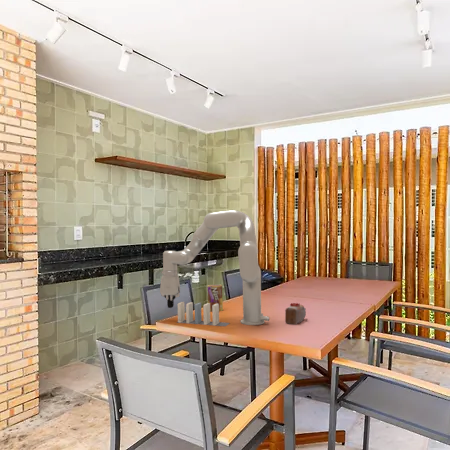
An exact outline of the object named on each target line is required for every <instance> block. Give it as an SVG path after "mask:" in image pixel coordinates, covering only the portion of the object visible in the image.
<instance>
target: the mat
mask: <svg viewBox="0 0 450 450" xmlns="http://www.w3.org/2000/svg"><path fill="white" fill-rule="evenodd" d="M175 323H176V324H177V323H178V324H187V325H189V324H191V325H196V324H195V319H193V321H192V322H191V323H186V319H185V321H183V322H181V323H179V322H178V321H176V322H175ZM230 324H231V323H230V322H225V321H223V322H222V321H219V323H218V324H217V325H213V321H211V320H210V323H208V324H207V325H205V324H204V320H202V322H200V323H198V324H197V325H203V326H216V327H227V326H228V325H230Z"/></svg>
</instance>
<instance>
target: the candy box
mask: <svg viewBox="0 0 450 450" xmlns="http://www.w3.org/2000/svg"><path fill="white" fill-rule="evenodd" d="M207 303H210V312H212V305H214V304H219V312H220V311H221V312H223V311H224V304H223V303H224V302H223V285H222V284H208V285H207Z"/></svg>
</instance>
